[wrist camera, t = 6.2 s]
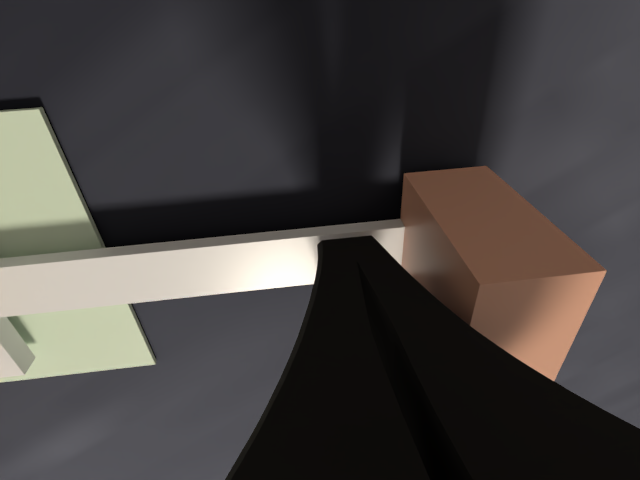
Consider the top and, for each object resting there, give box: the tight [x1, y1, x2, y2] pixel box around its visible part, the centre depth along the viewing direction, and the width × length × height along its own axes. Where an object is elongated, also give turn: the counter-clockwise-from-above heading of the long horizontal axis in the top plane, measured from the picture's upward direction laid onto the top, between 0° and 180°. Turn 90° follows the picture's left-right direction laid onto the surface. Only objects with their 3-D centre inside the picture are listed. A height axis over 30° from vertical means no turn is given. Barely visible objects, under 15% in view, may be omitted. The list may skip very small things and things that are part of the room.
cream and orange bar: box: [0, 166, 607, 381], centre depth 8 cm, size 18×6×4 cm, turn 93°
